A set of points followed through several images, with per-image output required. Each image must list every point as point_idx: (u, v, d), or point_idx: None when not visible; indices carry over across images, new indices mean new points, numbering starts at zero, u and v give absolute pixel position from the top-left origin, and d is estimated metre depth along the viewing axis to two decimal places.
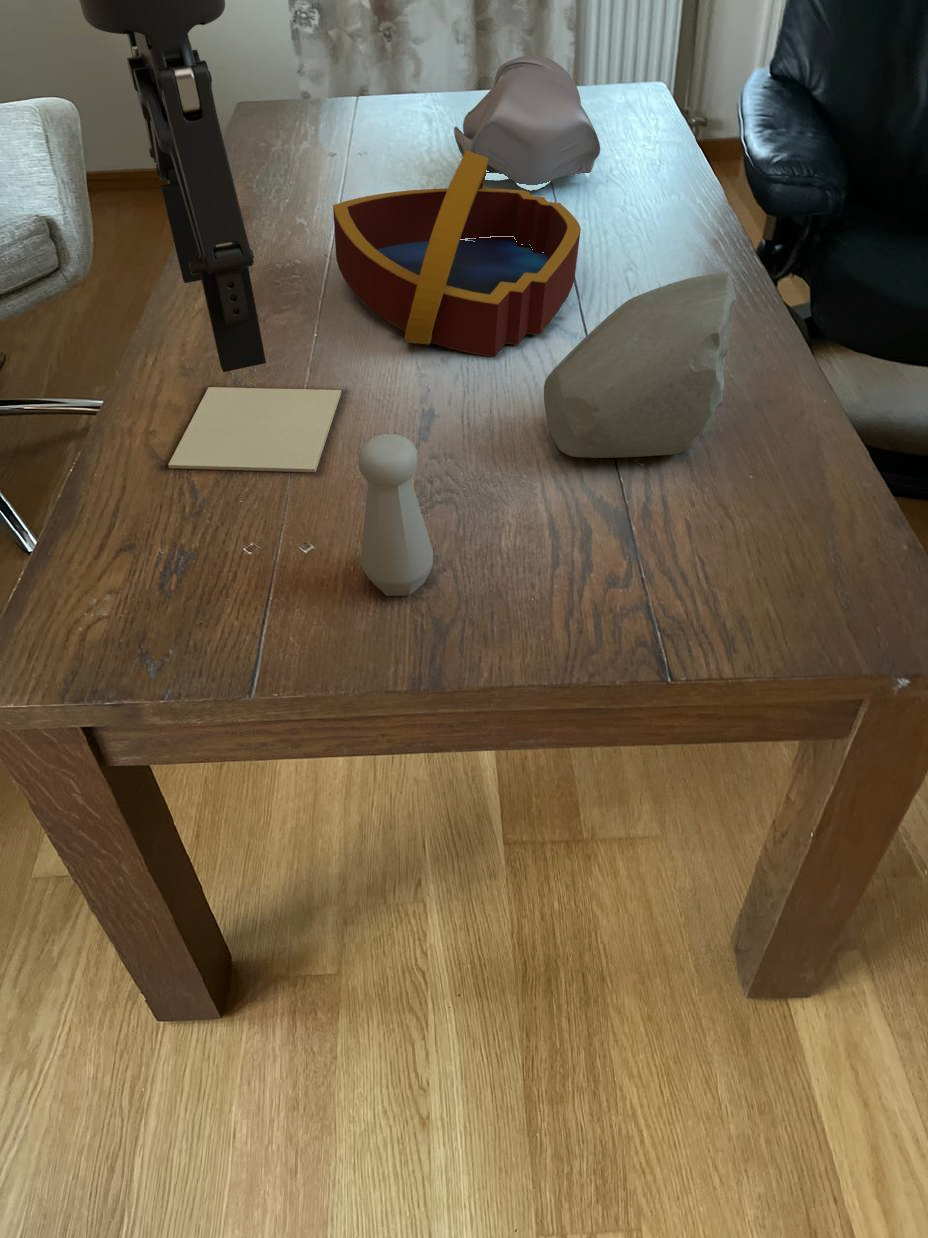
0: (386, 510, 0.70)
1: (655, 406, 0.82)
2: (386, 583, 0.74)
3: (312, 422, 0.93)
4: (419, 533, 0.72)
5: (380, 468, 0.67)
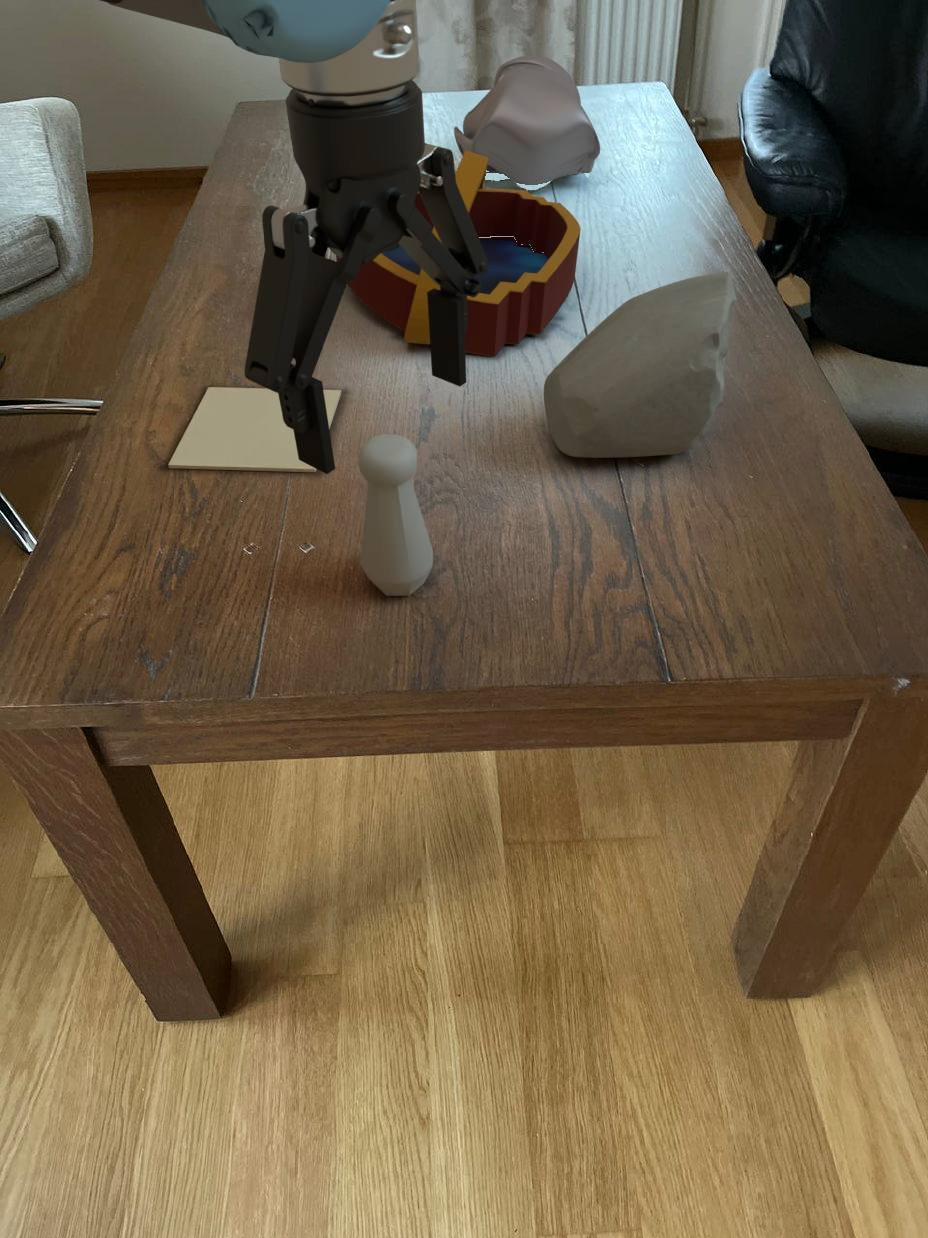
0: (386, 510, 0.70)
1: (655, 406, 0.82)
2: (386, 583, 0.74)
3: None
4: (419, 533, 0.72)
5: (380, 468, 0.67)
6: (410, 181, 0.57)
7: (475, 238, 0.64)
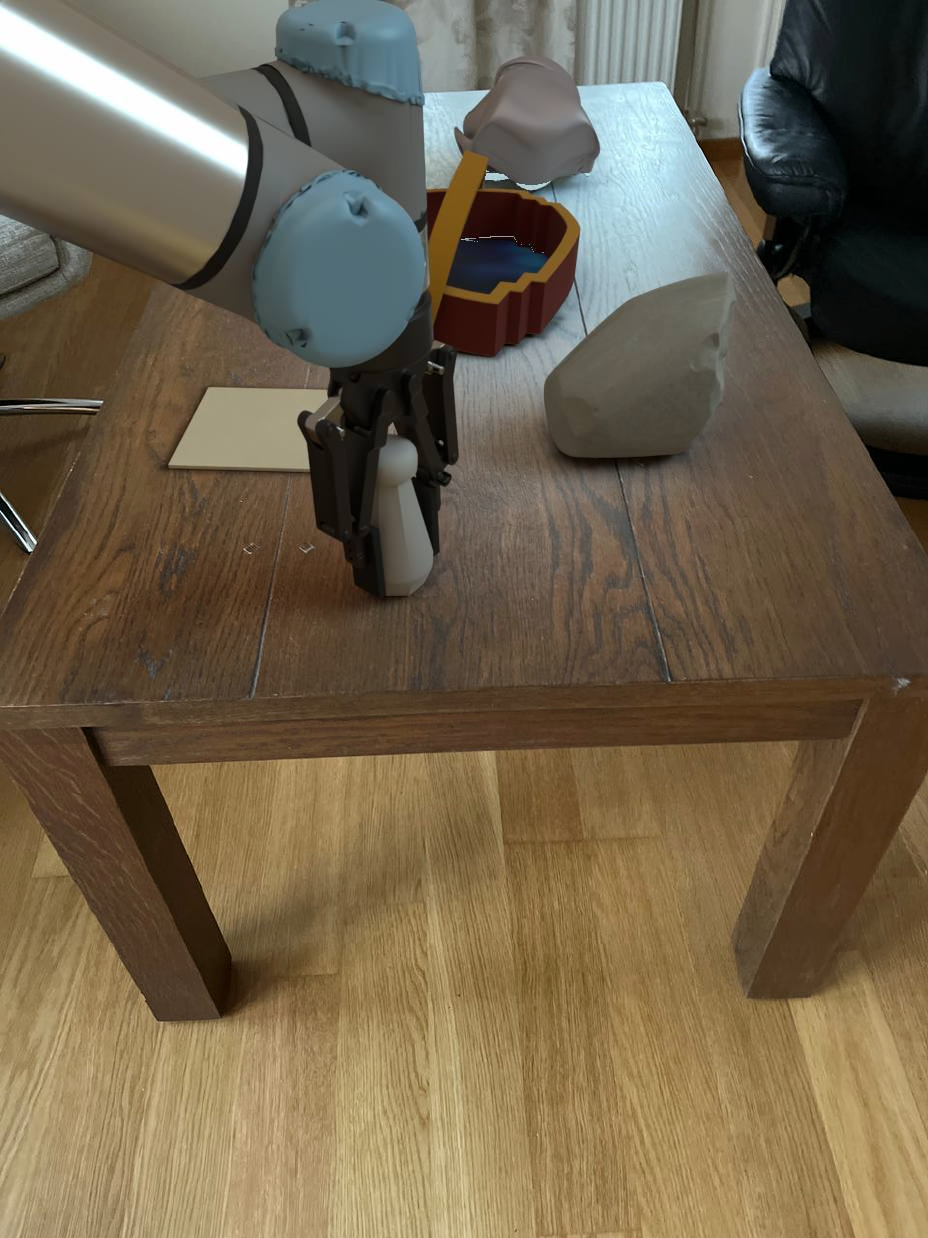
0: (386, 510, 0.70)
1: (655, 406, 0.82)
2: (386, 583, 0.74)
3: None
4: (419, 533, 0.72)
5: (380, 468, 0.67)
6: (420, 361, 0.65)
7: (454, 431, 0.72)
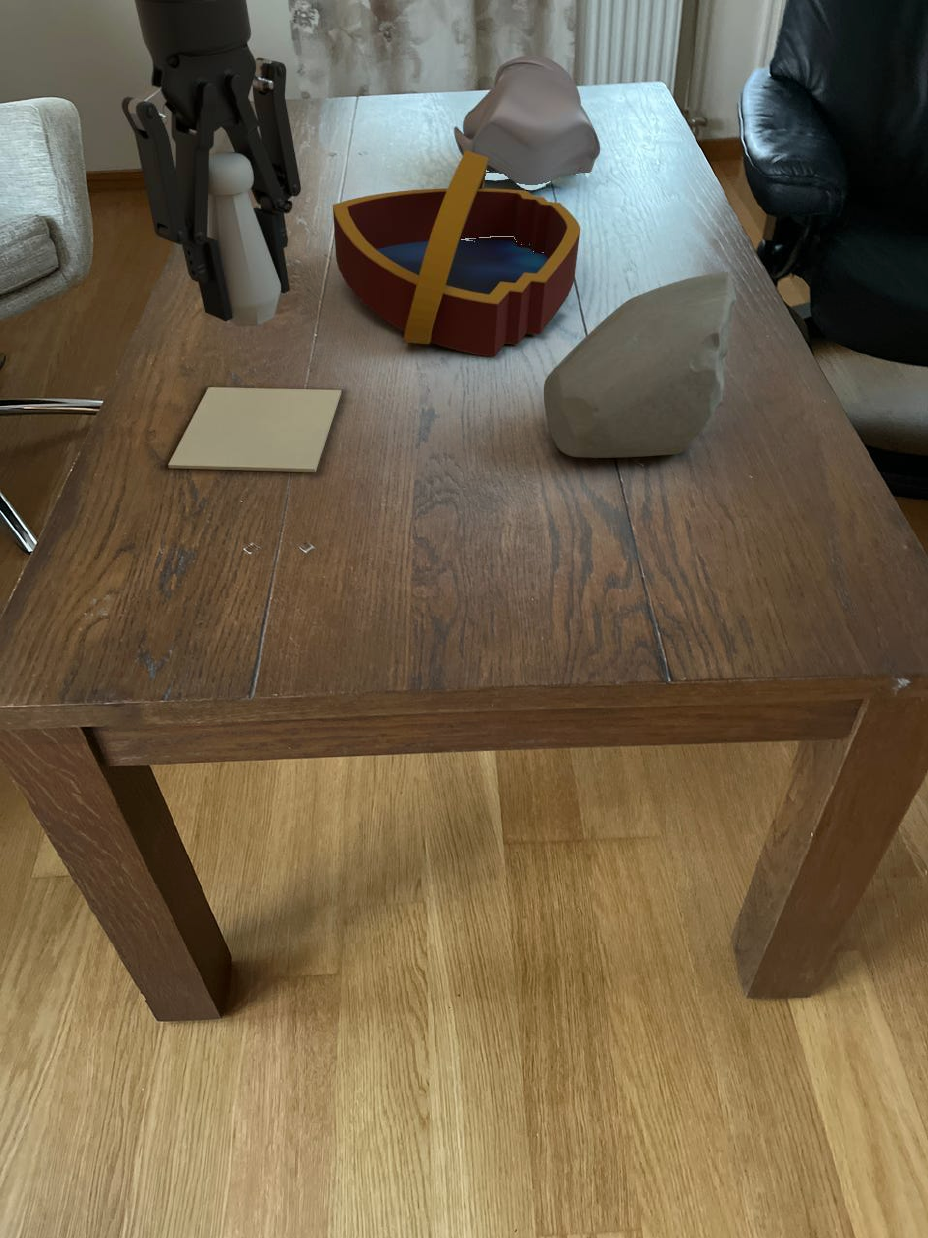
0: (225, 225, 0.75)
1: (655, 406, 0.82)
2: (233, 307, 0.79)
3: (312, 422, 0.93)
4: (261, 255, 0.77)
5: (213, 174, 0.72)
6: (245, 66, 0.70)
7: (293, 158, 0.77)
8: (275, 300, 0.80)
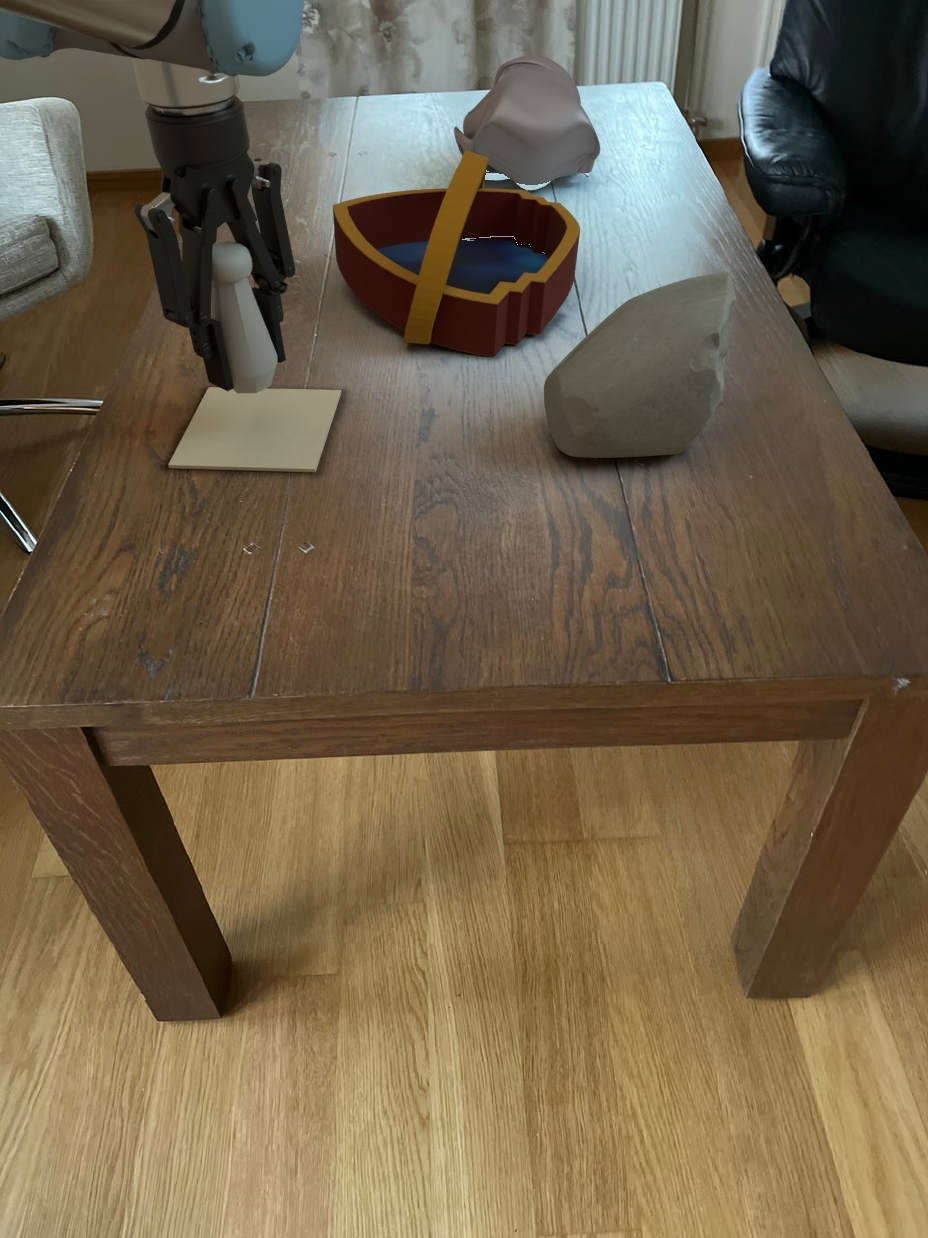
0: (227, 307, 0.83)
1: (655, 406, 0.82)
2: (234, 378, 0.87)
3: (312, 422, 0.93)
4: (259, 332, 0.85)
5: (216, 265, 0.80)
6: (245, 170, 0.78)
7: (288, 244, 0.85)
8: (272, 370, 0.88)
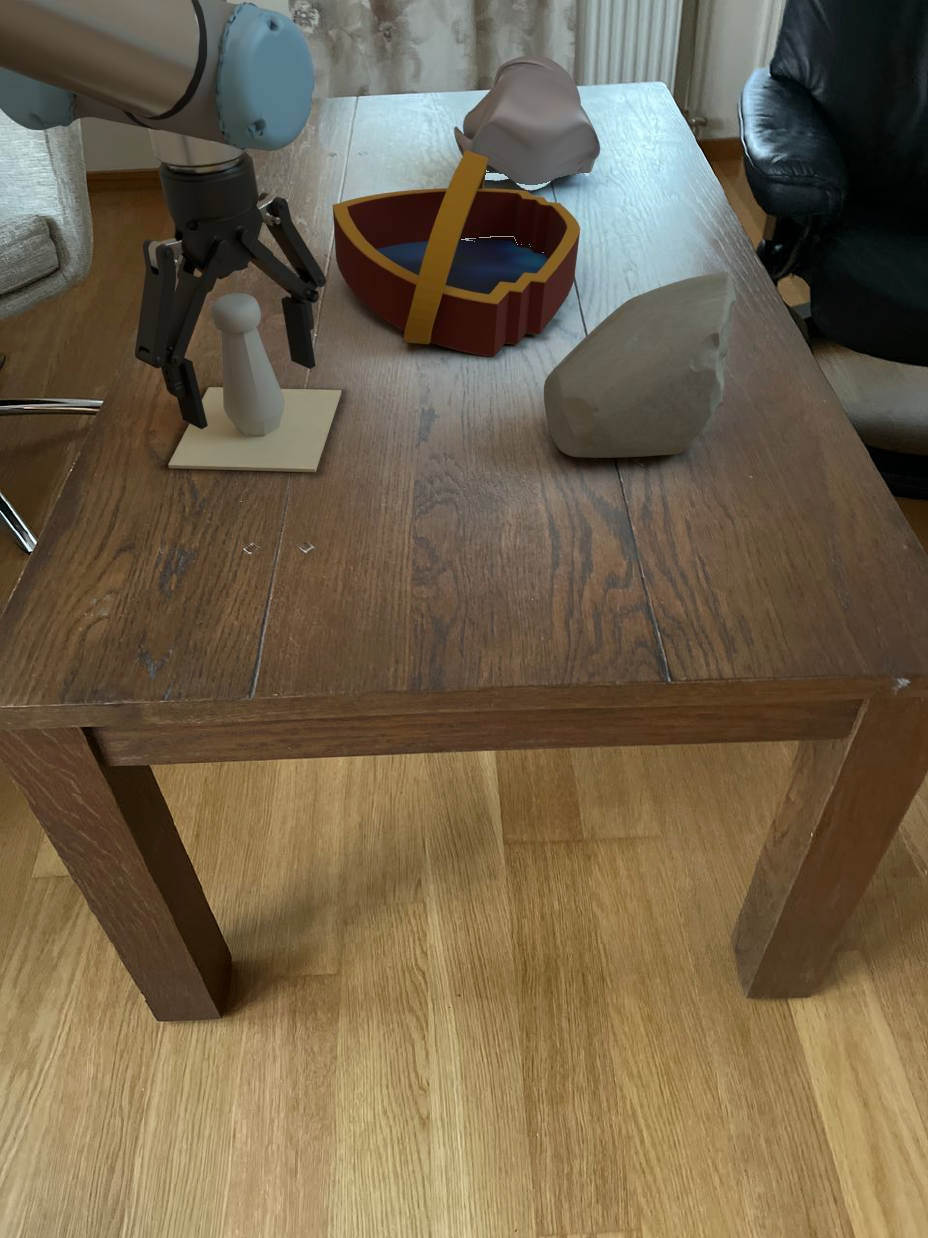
0: (236, 356, 0.86)
1: (655, 406, 0.82)
2: (243, 422, 0.90)
3: (312, 422, 0.93)
4: (267, 378, 0.88)
5: (226, 316, 0.83)
6: (253, 221, 0.81)
7: (312, 260, 0.88)
8: (280, 414, 0.91)
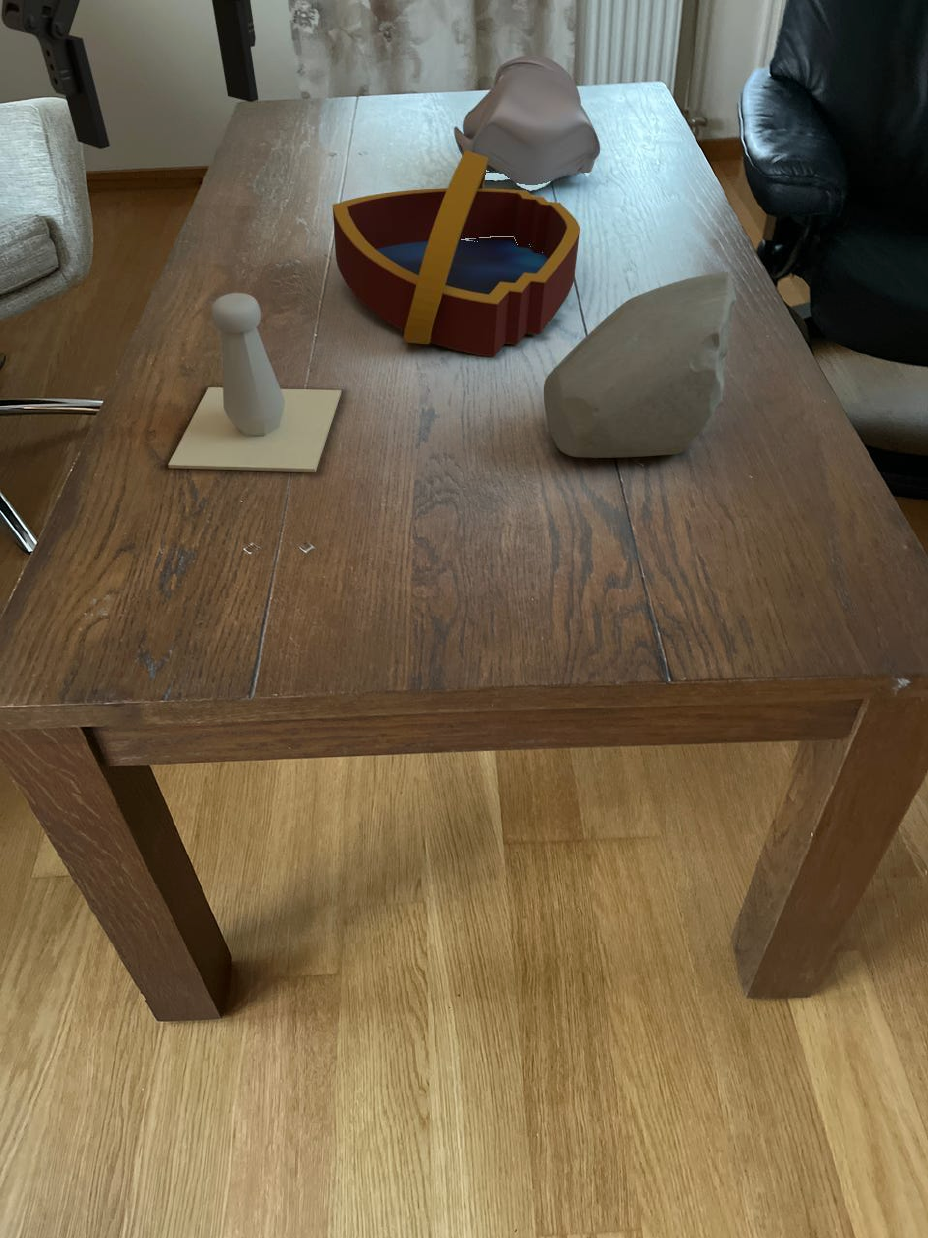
0: (236, 356, 0.86)
1: (655, 406, 0.82)
2: (243, 422, 0.90)
3: (312, 422, 0.93)
4: (267, 378, 0.88)
5: (226, 316, 0.83)
6: None
7: None
8: (280, 414, 0.91)
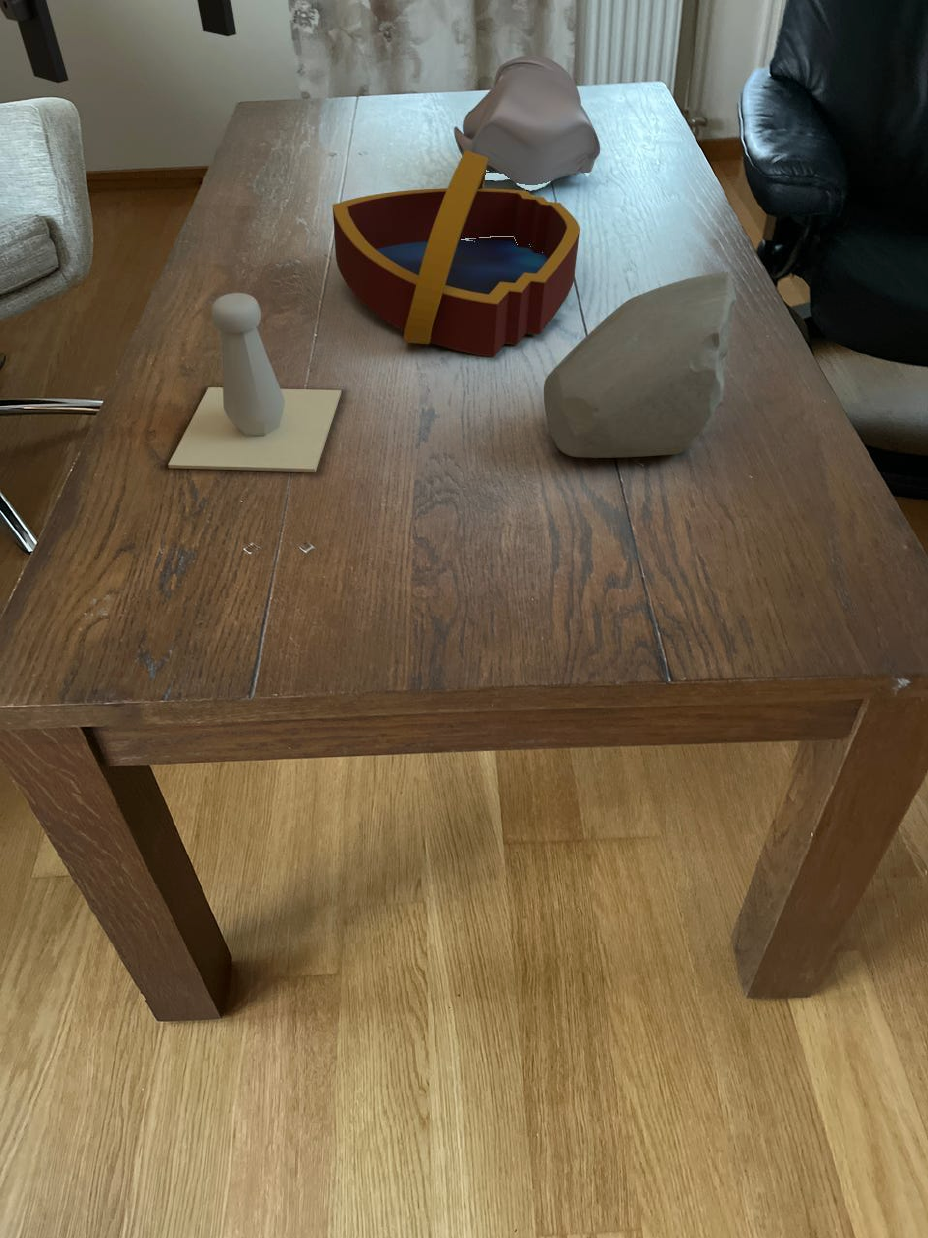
0: (236, 356, 0.86)
1: (655, 406, 0.82)
2: (243, 422, 0.90)
3: (312, 422, 0.93)
4: (267, 378, 0.88)
5: (226, 316, 0.83)
6: None
7: None
8: (280, 414, 0.91)
